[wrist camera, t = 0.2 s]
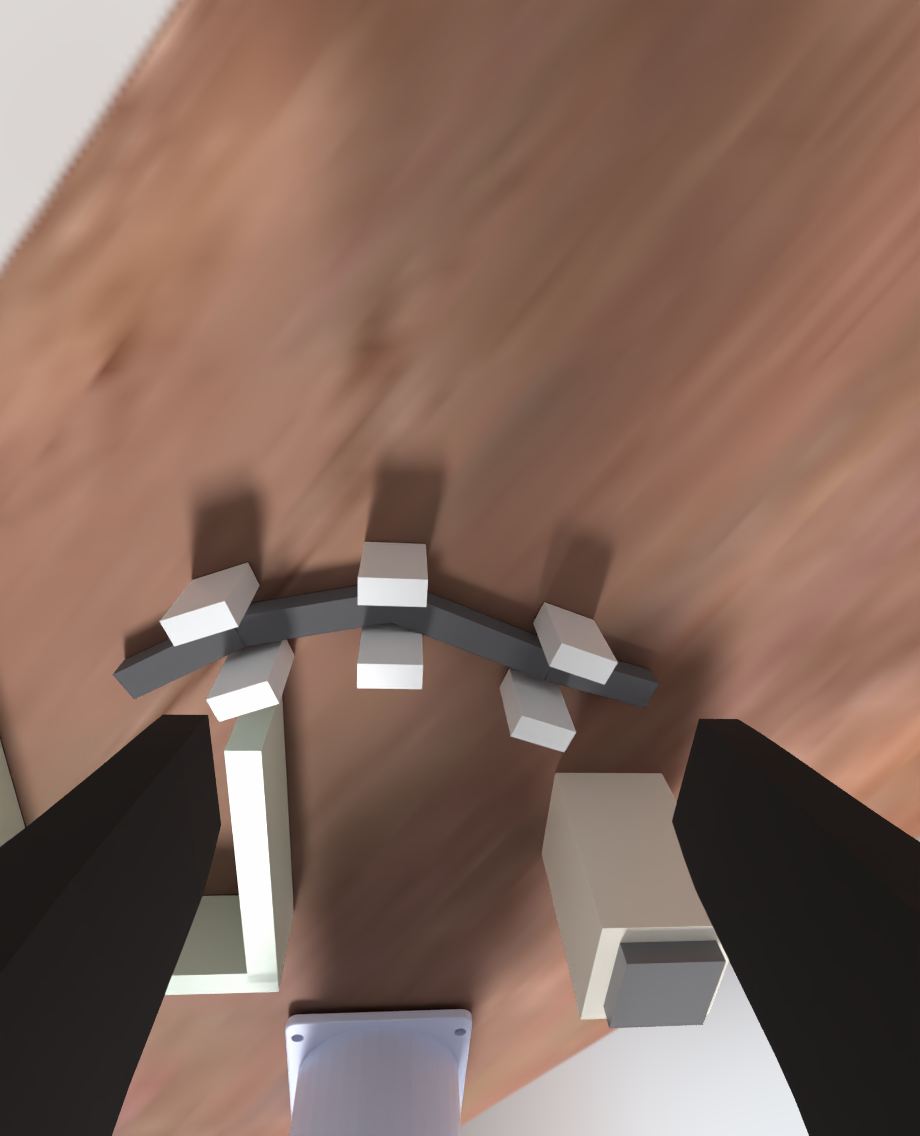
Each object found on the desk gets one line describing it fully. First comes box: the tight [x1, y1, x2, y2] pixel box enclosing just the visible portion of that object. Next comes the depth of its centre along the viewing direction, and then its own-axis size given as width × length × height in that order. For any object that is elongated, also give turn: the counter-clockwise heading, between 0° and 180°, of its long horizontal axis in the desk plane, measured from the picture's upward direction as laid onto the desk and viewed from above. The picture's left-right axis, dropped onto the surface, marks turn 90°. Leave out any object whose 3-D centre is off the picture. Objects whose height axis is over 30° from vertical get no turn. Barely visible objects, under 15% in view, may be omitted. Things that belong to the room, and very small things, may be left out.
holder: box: [0, 697, 294, 995], centre depth 20 cm, size 10×10×3 cm
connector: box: [541, 773, 729, 1028], centre depth 20 cm, size 4×4×7 cm
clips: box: [160, 542, 618, 752], centre depth 18 cm, size 6×12×2 cm, turn 86°
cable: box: [113, 585, 659, 708], centre depth 19 cm, size 4×17×1 cm, turn 86°
